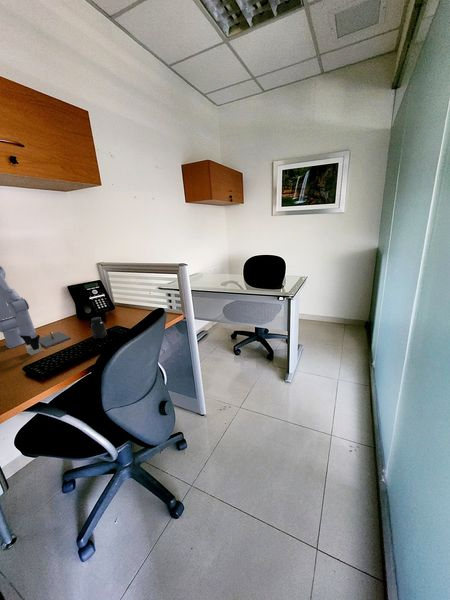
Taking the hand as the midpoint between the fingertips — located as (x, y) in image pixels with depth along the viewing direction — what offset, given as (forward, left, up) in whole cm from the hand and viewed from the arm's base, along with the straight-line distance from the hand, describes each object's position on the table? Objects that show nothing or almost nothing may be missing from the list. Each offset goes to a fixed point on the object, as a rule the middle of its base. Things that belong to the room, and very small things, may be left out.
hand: (33, 347), depth 122 cm
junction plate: (-7, +11, -3) cm, 13 cm away
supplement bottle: (+17, +26, -3) cm, 31 cm away
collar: (0, 0, -3) cm, 3 cm away
